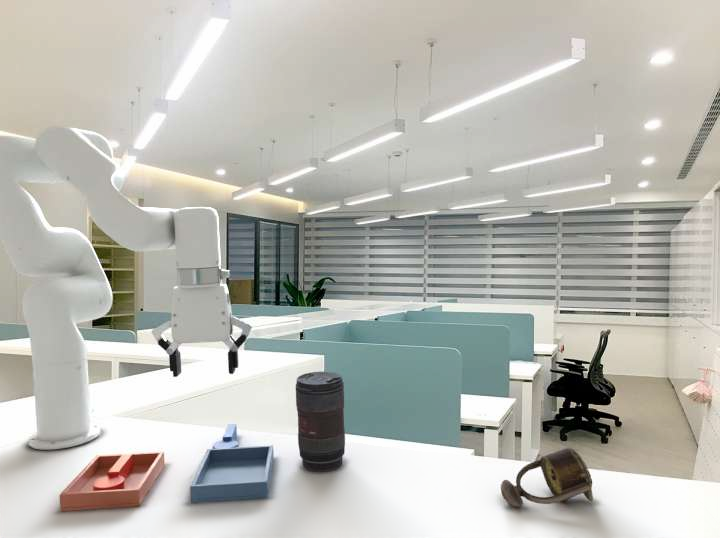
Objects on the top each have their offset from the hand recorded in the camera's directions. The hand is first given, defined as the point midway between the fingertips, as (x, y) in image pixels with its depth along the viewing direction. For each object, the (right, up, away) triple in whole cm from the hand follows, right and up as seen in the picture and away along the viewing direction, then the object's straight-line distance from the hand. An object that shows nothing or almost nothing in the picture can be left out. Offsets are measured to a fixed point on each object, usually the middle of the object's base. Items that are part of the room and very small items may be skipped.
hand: (204, 373), depth 104 cm
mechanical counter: (+55, -15, -19) cm, 60 cm away
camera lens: (+21, -15, -5) cm, 26 cm away
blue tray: (+8, -15, -10) cm, 20 cm away
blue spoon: (+3, -14, +4) cm, 15 cm away
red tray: (-11, -16, -12) cm, 22 cm away
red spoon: (-11, -15, -11) cm, 22 cm away
